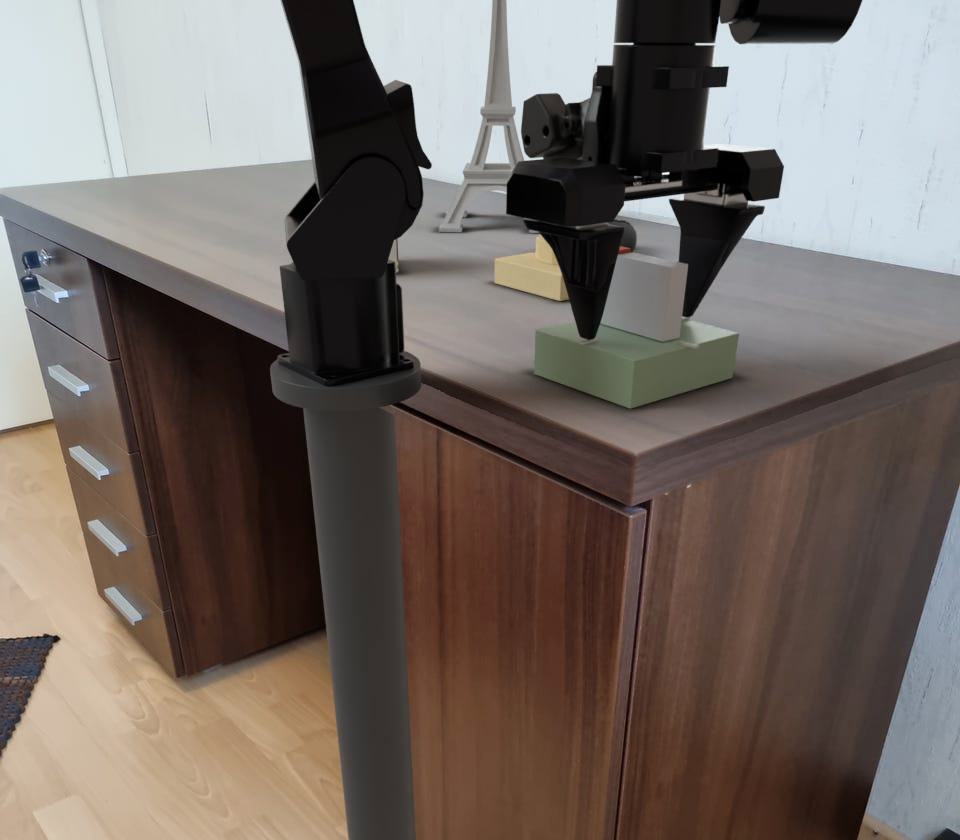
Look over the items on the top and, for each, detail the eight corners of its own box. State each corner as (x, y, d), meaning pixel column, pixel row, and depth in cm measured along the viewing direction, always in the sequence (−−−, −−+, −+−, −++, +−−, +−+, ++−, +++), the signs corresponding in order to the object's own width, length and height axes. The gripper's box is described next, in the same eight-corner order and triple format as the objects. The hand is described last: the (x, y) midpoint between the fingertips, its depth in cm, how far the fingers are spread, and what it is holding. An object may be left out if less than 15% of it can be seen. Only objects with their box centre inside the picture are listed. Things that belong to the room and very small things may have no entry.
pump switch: (560, 301, 80) (562, 252, 78) (494, 283, 86) (494, 237, 84) (646, 284, 86) (650, 237, 84) (579, 268, 92) (581, 224, 89)
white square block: (679, 338, 59) (689, 259, 57) (662, 342, 58) (671, 263, 56) (613, 319, 63) (619, 245, 61) (596, 322, 62) (601, 248, 60)
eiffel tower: (552, 233, 108) (565, -93, 91) (438, 231, 108) (432, -93, 92) (549, 214, 119) (561, -79, 103) (446, 213, 120) (442, -79, 103)
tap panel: (636, 412, 56) (641, 360, 55) (526, 372, 63) (528, 325, 61) (741, 380, 62) (748, 332, 60) (629, 346, 68) (633, 302, 67)
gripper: (669, 44, 62) (645, 285, 71) (447, 44, 53) (451, 324, 61) (809, 45, 55) (764, 314, 63) (581, 45, 45) (564, 363, 54)
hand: (637, 326), depth 61 cm, fingers open, 9 cm apart
